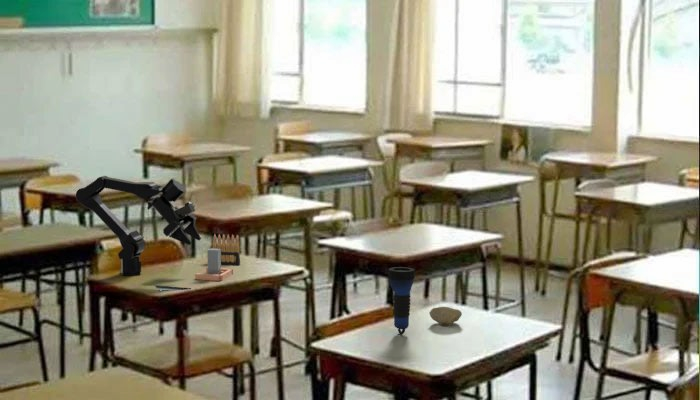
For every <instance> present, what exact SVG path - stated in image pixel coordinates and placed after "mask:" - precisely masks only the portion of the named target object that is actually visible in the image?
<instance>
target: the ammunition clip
mask: <svg viewBox="0 0 700 400" xmlns="http://www.w3.org/2000/svg"><path fill="white" fill-rule="evenodd" d="M235 237H236V238H235ZM212 248H213V249H221V266H240V265H241V255H240V237H239V235H238V234H236V236H235V235H234V233H232V234H231V238H230V234H229V233H228V234H227V236H226V235H225V234H224V233H223V234H222V237H221V234H220V233H219V234H218V237H217V235H216V233H214V235H213V241H212Z"/></svg>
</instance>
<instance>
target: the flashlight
mask: <svg viewBox="0 0 700 400" xmlns="http://www.w3.org/2000/svg"><path fill="white" fill-rule="evenodd" d="M387 271H388V277H387V278H388V281H389V286H390V288H391V290H392V291H393V293H394V294H393V295H392V296H393V298H392V300H393V303H392V305H393V306H392V307H393V309H392V311H393V312H392V313H393V324H394V328H396V329H397V332H398V333H399V334H400V335H403V334H405V333H406V329H408V328H409V325H410V324H409V323H410V322H409V321H410V311H411V297H412V296H411V290H412V287H413V284H414V281H415V277H416V275H415V274H416V269H415V268H412V267H406V266H405V267H403V266H397V267H396V266H394V267H390V268H388V270H387Z"/></svg>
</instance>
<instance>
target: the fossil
mask: <svg viewBox="0 0 700 400" xmlns="http://www.w3.org/2000/svg"><path fill="white" fill-rule="evenodd" d="M429 316H430V318H431V319H432V320H433V321H435V322H437V324H438V325H439V326H440V327H444V326H445V327H449V326H451V325H452V324H453V323H455V322H458V321H460V320H459V319H461V317H462V311H461V310H460V309H455V308H452V307H448V306H437V307H434V308H431V310H430V311H429Z"/></svg>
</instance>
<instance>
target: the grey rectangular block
mask: <svg viewBox="0 0 700 400" xmlns="http://www.w3.org/2000/svg"><path fill="white" fill-rule="evenodd" d="M221 249H222V248H221ZM221 249H213V247H211V248H209V249H207V251H206V253H207V256H206V257H207V267H208V274H219V275H220V274H221V268H222V265H221Z"/></svg>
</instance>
